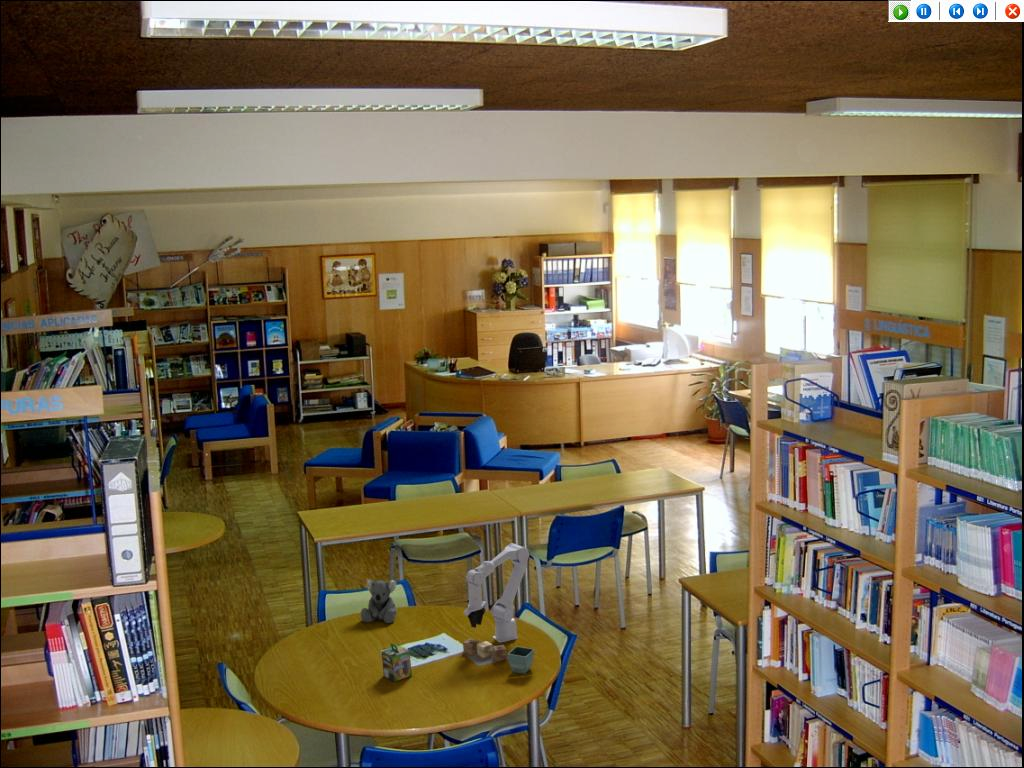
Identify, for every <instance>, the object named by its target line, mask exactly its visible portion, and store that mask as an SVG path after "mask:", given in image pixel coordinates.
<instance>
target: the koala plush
mask: <svg viewBox="0 0 1024 768" xmlns="http://www.w3.org/2000/svg"><path fill="white" fill-rule="evenodd" d="M366 587H367V591H369V593H370V598H369V601H368V605H367V607H362V608H361V610H360V620H361V621H362V622H364V623H372V622H373V621H375V620H377V619H379V620H383V622H384V623H386V624H392V623H393V622H394V621H395V620H396V617H397V608H396V604H395V602H394V599H393V598H392V597H391V596H390V594H392V593H394V592H395V590H396V588H397V582H396V581H395V580H393V579H392V580H388V581H384V580H380V579H379V580H376V581H375V580H372V579H369V578H368V579H367V580H366Z"/></svg>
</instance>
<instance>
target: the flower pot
mask: <svg viewBox="0 0 1024 768" xmlns="http://www.w3.org/2000/svg"><path fill="white" fill-rule="evenodd" d="M534 655H535V649H534V648H530V647H529V648H528V647H523V646H515V647H513V648H512V649H511V650H510V651H509V652H508V654H507V657H508V658H509V659H508V663H509V666H510V669H511V670H512V671H513V673H517V674H526V673H527V672H529V670H530V669H531V667H532V665H533V662H534Z"/></svg>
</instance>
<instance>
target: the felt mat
mask: <svg viewBox="0 0 1024 768" xmlns="http://www.w3.org/2000/svg"><path fill="white" fill-rule="evenodd" d="M492 646H495V645H494V644H492ZM462 653H463V654H464V655H465V656H466V657H467V658H468V659H469V660H471V661H472V662H473V663H474V664H475V665H476V666H478V667H481V666H485V665H490V664H493V663H497V662H498V663H499V662H500V661H495V660H494V657H493V655H492V656H488V657H485V658H483V657H481V656H479V655H477V653H475V654H473V655H470V654H467V653H464V651H462ZM507 660H509V658H508V655H506V660H505V661H507Z"/></svg>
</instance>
